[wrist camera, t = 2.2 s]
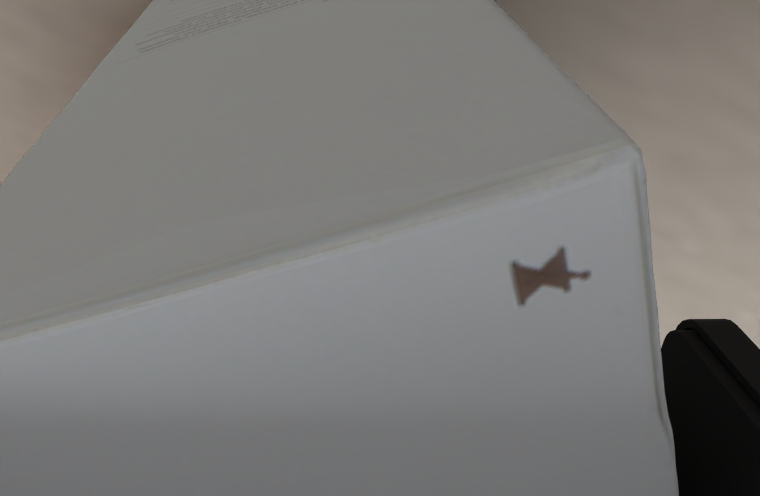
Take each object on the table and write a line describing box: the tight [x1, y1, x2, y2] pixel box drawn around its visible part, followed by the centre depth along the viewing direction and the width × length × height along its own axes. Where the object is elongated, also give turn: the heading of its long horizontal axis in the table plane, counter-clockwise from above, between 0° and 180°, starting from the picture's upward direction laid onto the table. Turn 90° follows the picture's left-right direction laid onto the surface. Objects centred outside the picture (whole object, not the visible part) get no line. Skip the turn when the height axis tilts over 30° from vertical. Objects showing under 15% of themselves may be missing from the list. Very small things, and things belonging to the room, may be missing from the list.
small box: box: [0, 0, 679, 496], centre depth 12 cm, size 8×6×13 cm
